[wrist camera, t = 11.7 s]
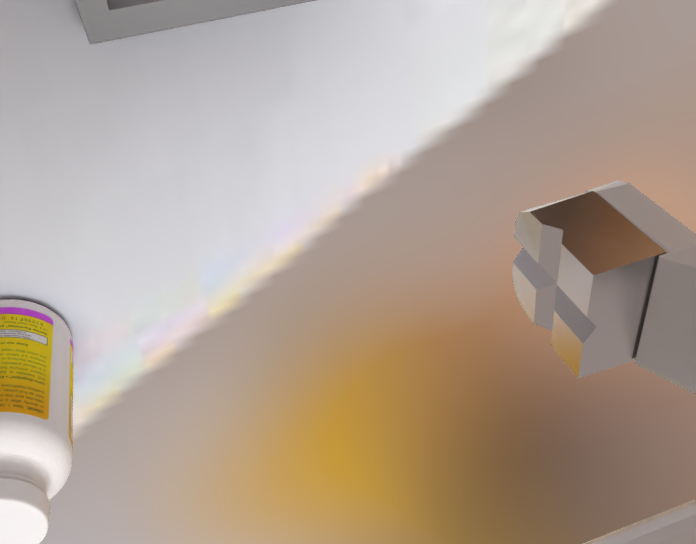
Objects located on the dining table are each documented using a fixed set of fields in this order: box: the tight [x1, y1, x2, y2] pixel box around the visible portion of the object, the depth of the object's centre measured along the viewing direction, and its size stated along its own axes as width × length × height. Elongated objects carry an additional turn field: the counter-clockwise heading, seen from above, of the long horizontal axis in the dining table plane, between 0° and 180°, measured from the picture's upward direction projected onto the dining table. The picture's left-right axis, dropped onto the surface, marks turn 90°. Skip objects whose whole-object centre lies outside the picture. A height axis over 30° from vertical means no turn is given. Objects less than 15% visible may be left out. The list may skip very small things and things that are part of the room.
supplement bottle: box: [0, 299, 73, 544], centre depth 34 cm, size 7×7×13 cm
